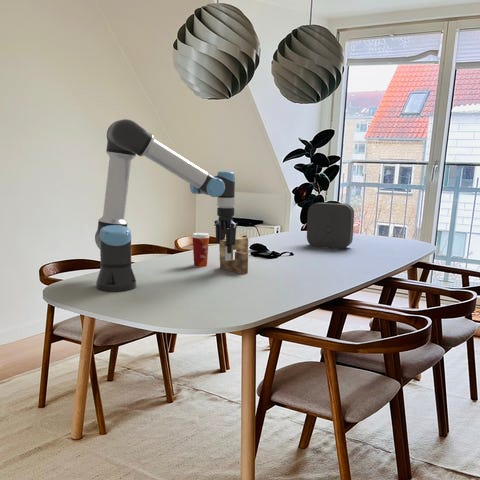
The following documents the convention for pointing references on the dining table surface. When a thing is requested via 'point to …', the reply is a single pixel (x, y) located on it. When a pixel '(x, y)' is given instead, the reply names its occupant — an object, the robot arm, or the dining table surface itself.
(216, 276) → the dining table surface
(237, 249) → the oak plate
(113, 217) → the robot arm
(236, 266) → the wooden notched block
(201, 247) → the coffee cup
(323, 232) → the speaker
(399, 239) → the dining table surface
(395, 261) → the dining table surface
